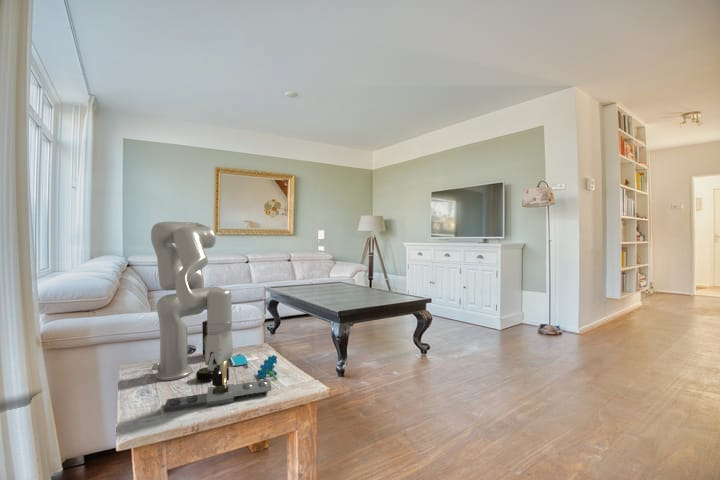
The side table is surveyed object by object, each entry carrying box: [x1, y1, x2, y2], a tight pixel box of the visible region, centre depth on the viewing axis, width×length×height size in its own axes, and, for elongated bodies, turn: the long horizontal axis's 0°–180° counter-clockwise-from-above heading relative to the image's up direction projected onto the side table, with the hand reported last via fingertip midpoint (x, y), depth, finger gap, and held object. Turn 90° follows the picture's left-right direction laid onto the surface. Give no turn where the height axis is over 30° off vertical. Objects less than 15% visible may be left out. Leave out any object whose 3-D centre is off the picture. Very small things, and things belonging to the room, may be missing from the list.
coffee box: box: [201, 320, 208, 358], centre depth 158 cm, size 9×6×16 cm
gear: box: [256, 354, 278, 380], centre depth 133 cm, size 11×6×10 cm
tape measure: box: [195, 367, 212, 382], centre depth 131 cm, size 7×7×4 cm
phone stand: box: [229, 353, 260, 369], centre depth 151 cm, size 20×12×2 cm, turn 28°
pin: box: [215, 360, 228, 391], centre depth 114 cm, size 4×4×10 cm
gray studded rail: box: [163, 379, 272, 413], centre depth 114 cm, size 32×8×4 cm, turn 110°
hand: (220, 382), depth 114 cm, fingers closed on pin, 3 cm apart
